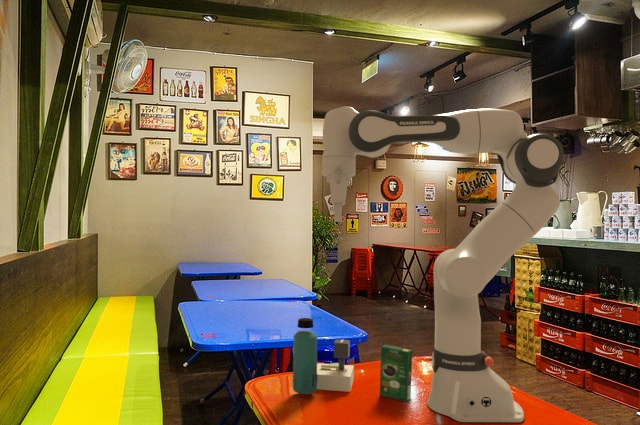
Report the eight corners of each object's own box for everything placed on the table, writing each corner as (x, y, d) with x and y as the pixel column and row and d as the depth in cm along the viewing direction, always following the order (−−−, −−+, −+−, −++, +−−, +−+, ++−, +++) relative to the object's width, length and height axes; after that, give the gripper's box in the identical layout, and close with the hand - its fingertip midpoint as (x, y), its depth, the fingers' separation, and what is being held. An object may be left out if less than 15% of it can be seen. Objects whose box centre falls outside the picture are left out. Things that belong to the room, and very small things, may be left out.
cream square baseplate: (353, 378, 138) (354, 363, 138) (350, 391, 127) (350, 376, 128) (313, 375, 140) (313, 361, 140) (306, 388, 129) (306, 372, 129)
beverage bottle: (314, 401, 120) (315, 321, 121) (288, 398, 122) (290, 320, 122) (319, 392, 127) (320, 316, 127) (295, 389, 128) (296, 315, 129)
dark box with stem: (349, 367, 135) (349, 339, 135) (347, 371, 131) (348, 343, 131) (322, 365, 136) (322, 337, 136) (319, 370, 132) (320, 341, 132)
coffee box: (412, 399, 123) (413, 348, 123) (408, 403, 120) (408, 351, 120) (383, 393, 127) (384, 343, 127) (379, 396, 125) (379, 346, 125)
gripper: (351, 164, 115) (350, 222, 114) (350, 173, 135) (349, 221, 135) (325, 164, 115) (324, 221, 115) (327, 173, 135) (327, 221, 135)
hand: (337, 221), depth 125 cm, fingers open, 8 cm apart
